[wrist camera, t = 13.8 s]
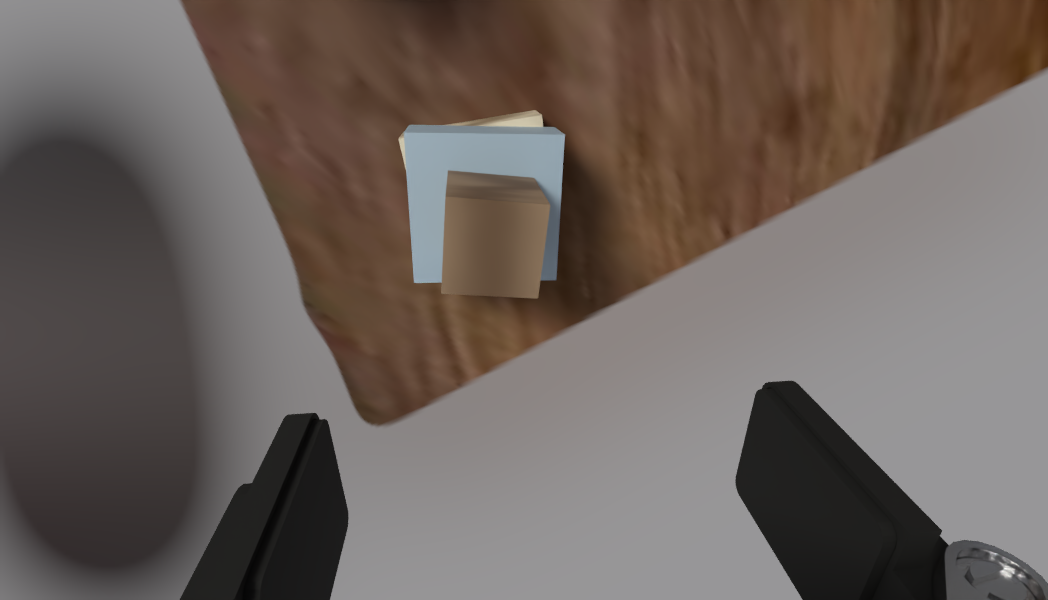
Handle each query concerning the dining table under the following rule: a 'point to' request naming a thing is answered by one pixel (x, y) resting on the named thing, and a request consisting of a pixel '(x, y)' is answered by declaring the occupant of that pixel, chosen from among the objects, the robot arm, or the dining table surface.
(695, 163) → the dining table surface
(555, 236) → the tower top block
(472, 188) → the walnut block
